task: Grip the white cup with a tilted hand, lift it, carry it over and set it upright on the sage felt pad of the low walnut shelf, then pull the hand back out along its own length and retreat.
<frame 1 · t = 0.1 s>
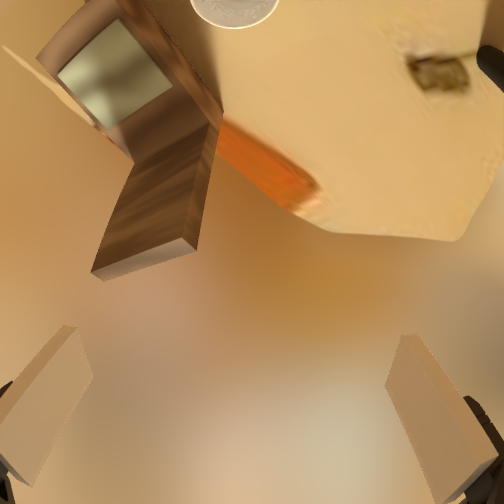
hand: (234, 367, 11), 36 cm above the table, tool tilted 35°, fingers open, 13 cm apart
drinking cup: (487, 58, 26), on the table
walnut shelf: (137, 71, 33), on the table
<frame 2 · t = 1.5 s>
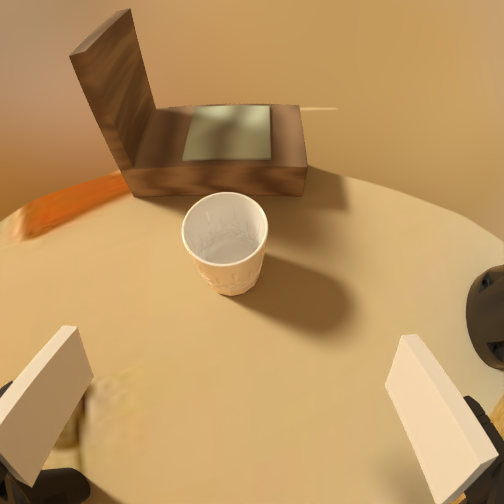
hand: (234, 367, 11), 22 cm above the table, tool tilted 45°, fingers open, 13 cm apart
drinking cup: (75, 483, 24), on the table
walnut shelf: (218, 160, 44), on the table
white cup: (232, 270, 37), on the table
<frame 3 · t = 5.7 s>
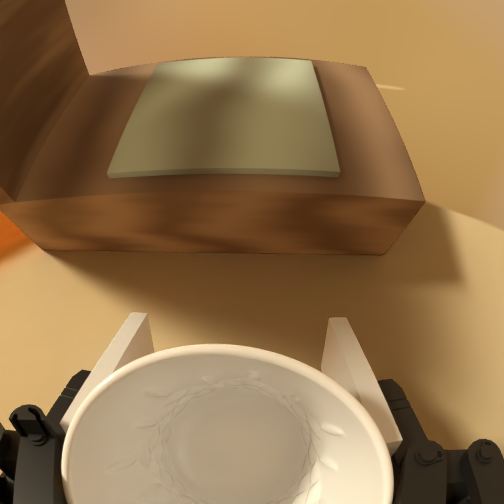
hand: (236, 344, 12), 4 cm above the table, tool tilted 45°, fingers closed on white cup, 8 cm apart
walnut shelf: (204, 171, 21), on the table
white cup: (238, 442, 14), on the table, touching gripper
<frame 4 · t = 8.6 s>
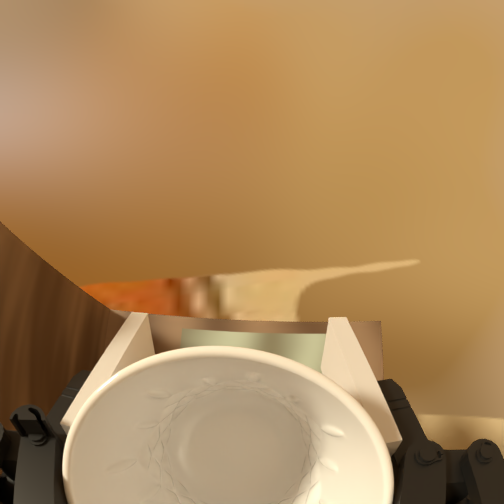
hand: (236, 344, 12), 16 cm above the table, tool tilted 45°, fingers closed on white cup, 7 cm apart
walnut shelf: (230, 401, 25), on the table
white cup: (238, 443, 14), point 12 cm above the table, touching gripper
when the fingers open (10 cm above the table, at t = 11.5 s): white cup stays where it is, resting on walnut shelf.
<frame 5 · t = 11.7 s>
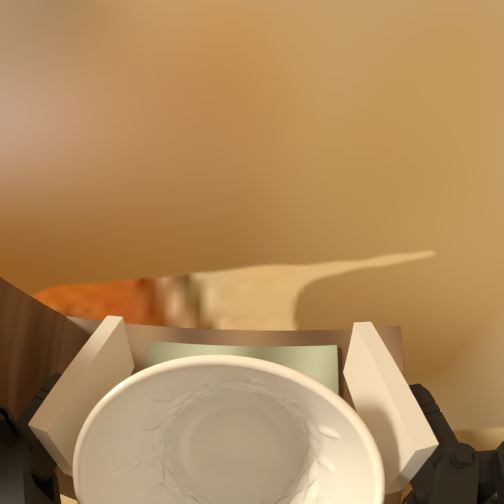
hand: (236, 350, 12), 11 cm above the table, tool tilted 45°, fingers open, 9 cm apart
walnut shelf: (215, 426, 20), on the table
white cup: (238, 442, 14), point 6 cm above the table, touching walnut shelf
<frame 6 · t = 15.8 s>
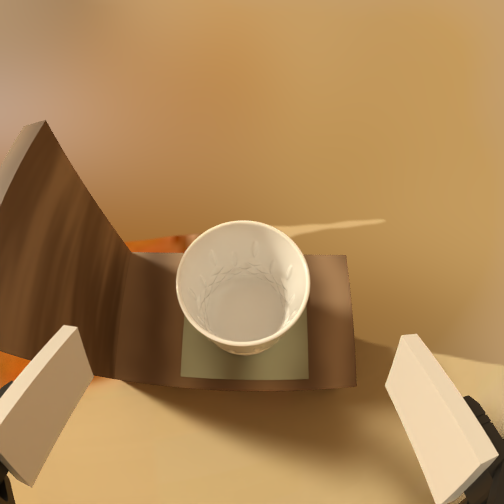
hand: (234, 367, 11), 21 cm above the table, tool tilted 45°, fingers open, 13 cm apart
walnut shelf: (227, 331, 32), on the table
white cup: (245, 319, 27), point 6 cm above the table, touching walnut shelf
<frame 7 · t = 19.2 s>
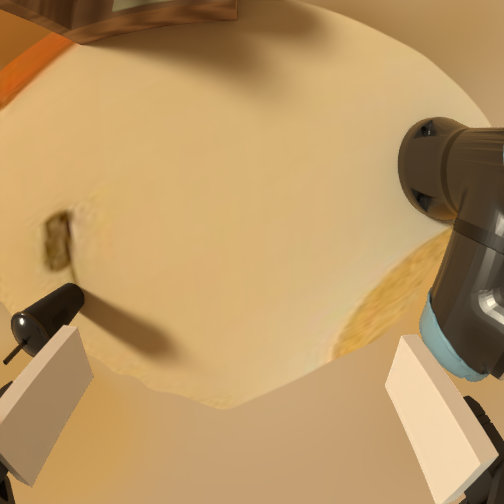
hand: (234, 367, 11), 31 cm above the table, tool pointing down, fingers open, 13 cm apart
drinking cup: (73, 295, 45), on the table
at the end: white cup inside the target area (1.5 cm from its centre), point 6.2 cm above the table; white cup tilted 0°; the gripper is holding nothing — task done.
